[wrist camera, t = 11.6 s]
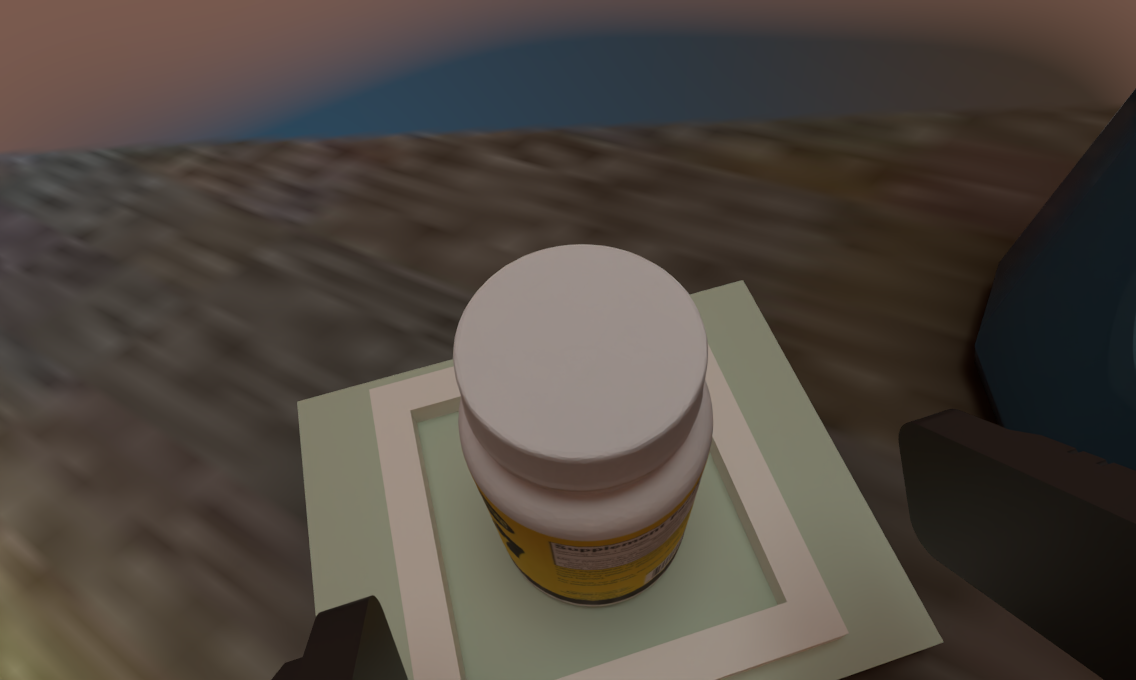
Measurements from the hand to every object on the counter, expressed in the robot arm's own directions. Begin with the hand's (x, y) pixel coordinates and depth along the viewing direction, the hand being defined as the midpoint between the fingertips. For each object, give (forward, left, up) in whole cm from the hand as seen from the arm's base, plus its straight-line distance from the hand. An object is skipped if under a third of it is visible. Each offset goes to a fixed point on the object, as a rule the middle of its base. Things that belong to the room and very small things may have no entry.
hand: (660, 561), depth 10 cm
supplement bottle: (0, +3, -7) cm, 8 cm away
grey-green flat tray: (0, +3, -8) cm, 9 cm away
